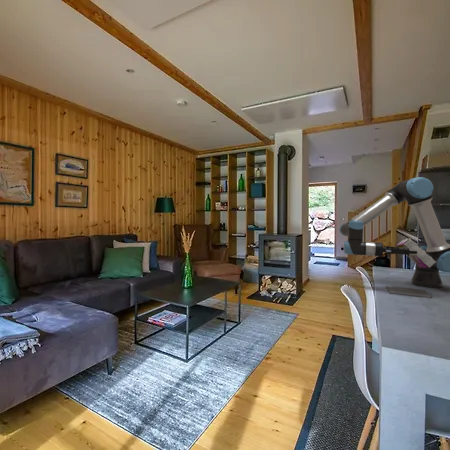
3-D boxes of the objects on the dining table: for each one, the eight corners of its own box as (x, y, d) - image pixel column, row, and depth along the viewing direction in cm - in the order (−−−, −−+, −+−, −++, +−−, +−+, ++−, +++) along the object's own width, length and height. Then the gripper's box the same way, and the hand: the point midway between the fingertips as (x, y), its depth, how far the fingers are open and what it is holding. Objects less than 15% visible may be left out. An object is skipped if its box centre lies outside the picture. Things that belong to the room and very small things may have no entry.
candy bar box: (420, 268, 150) (395, 245, 154) (427, 262, 149) (402, 239, 154) (429, 268, 139) (402, 243, 144) (437, 261, 138) (410, 237, 143)
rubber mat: (424, 291, 151) (424, 290, 151) (432, 298, 137) (432, 297, 137) (386, 287, 159) (386, 286, 159) (389, 293, 144) (389, 292, 144)
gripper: (372, 253, 165) (416, 256, 156) (376, 258, 143) (427, 261, 134) (373, 241, 165) (417, 243, 156) (376, 243, 143) (427, 246, 134)
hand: (421, 251), depth 145 cm, fingers closed on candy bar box, 12 cm apart
